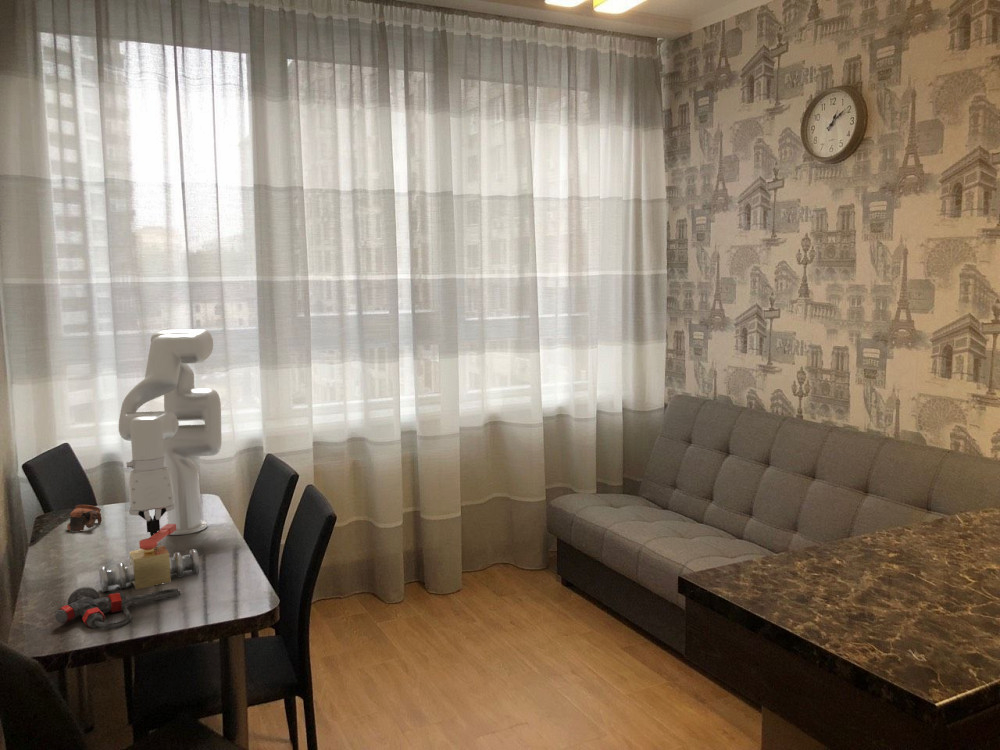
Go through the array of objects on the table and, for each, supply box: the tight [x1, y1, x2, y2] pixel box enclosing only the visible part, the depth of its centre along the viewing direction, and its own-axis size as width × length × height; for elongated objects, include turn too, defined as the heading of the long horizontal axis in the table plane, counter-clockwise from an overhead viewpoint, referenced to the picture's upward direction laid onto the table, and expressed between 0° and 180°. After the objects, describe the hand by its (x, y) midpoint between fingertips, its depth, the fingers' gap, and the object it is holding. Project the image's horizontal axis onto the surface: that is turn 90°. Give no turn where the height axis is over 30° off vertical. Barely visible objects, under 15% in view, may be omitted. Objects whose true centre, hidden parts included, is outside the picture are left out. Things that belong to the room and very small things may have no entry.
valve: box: [54, 586, 181, 629], centre depth 177 cm, size 6×26×15 cm
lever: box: [138, 523, 176, 550], centre depth 201 cm, size 16×4×2 cm, turn 179°
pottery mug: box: [66, 504, 102, 532], centre depth 243 cm, size 12×9×8 cm
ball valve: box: [98, 545, 201, 593], centre depth 196 cm, size 7×22×9 cm, turn 123°
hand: (153, 534), depth 205 cm, fingers closed
